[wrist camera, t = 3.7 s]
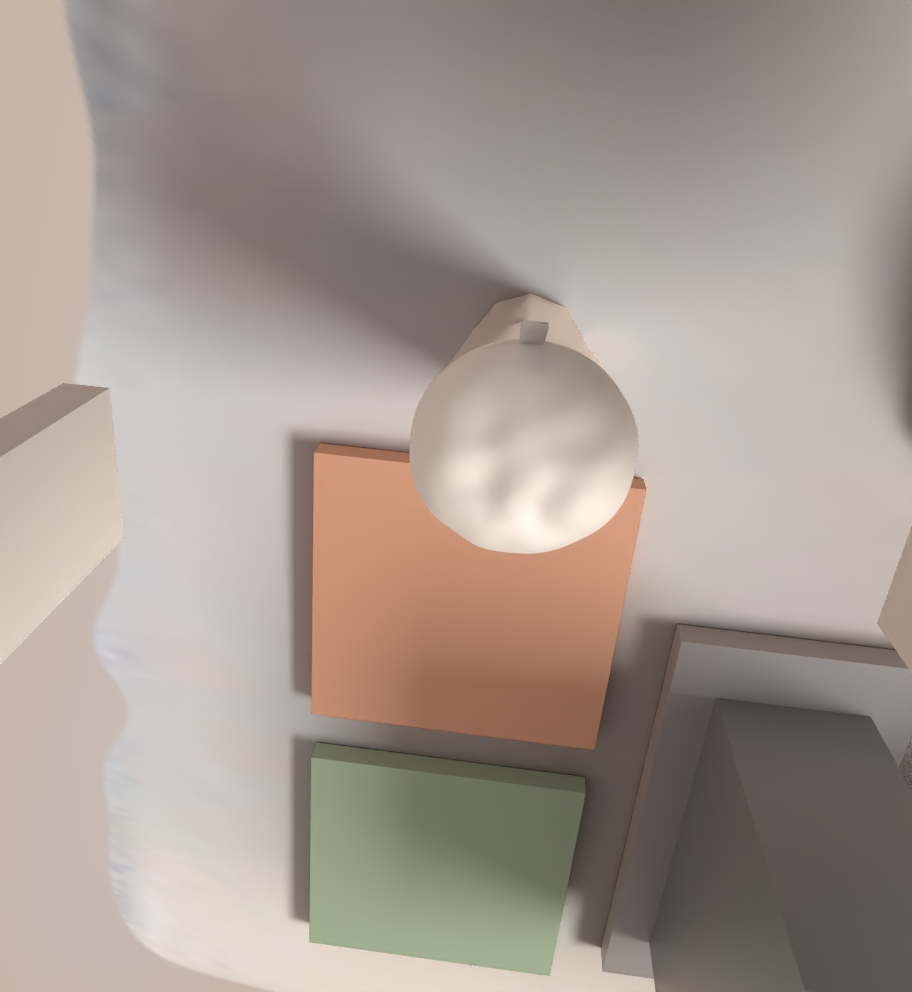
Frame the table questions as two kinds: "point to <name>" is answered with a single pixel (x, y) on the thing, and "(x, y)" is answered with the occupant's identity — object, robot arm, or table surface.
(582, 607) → the pad terracotta
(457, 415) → the milkshake
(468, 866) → the pad sage
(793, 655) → the block
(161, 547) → the table surface
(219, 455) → the table surface
